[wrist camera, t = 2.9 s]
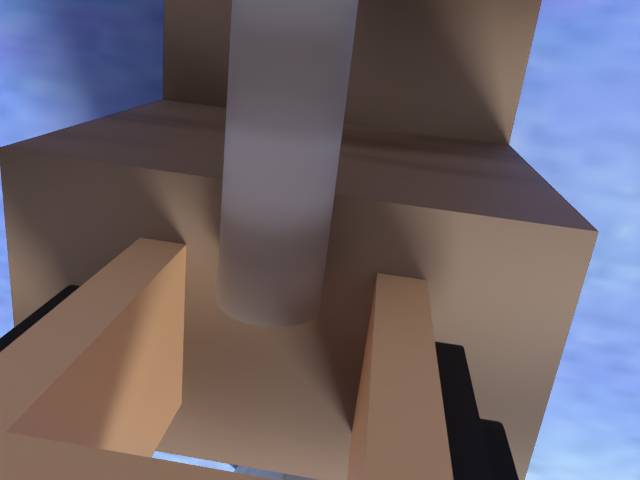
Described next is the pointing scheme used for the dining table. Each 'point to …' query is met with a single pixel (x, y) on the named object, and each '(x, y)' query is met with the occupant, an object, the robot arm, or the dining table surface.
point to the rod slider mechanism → (317, 213)
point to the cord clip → (166, 381)
